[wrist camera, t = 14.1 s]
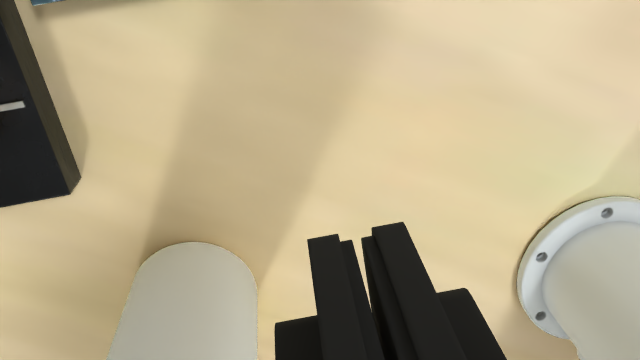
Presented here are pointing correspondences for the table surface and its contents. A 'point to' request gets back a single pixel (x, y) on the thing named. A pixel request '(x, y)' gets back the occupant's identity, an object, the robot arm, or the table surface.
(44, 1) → the push button box
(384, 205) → the table surface
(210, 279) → the alcohol
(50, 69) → the table surface
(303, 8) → the table surface
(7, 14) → the dial plate
